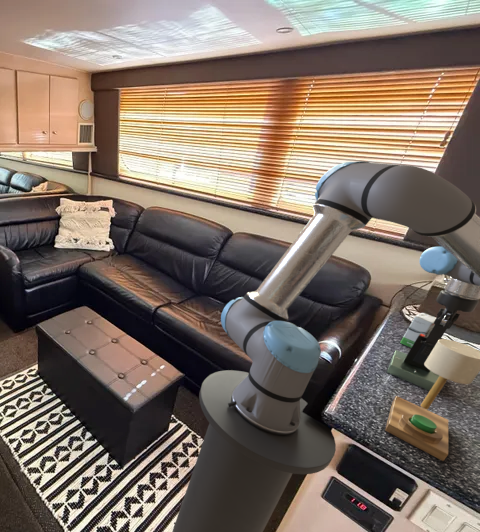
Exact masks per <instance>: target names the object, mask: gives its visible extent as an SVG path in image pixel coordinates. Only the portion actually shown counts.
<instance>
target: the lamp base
mask: <svg viewBox="0 0 480 532" xmlns="http://www.w3.org/2000/svg"><path fill="white" fill-rule="evenodd" d="M415 414H417V415H421V416H424V417H426V418H428V419H430V420H431V421H433V422H434V423H435V424H436V426H437V428H436V429H435V431H434V432H433V433H432V434H430V433H427V432H424V431H422V430H420V429H418V428H417V427H415V426H414V425H413V424H411V422H410V420H411V418H412V417H413V415H415ZM384 431H385V432H387V433H389V434H391V435H393V436H394V437H396V438H399V439H400V440H402V441H404V442H406V443H408V444H410V445H412V446H413V447H415V448H418V449H419V450H421V451H423V452H425V453H427V454H429V455H430V456H432V457H434V458H436V459H438V460H440V461H442V462H444V461H445V459H446V458H447V457H448V456H449V419H447V418H445V417H443V416H441V415H439V414H436V413H434V412H432V411H430V410H429V409H424V408H422V407H421V406H419V405H417V404H415V403H413V402H411V401H408V400H406V399H404V398H402V397H400V396H398V395H396V396H394V398H393V400H392V402H391V406H390V409H389V413H388V417H387V421H386V425H385V429H384Z"/></svg>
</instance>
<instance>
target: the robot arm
mask: <svg viewBox="0 0 480 532" xmlns="http://www.w3.org/2000/svg"><path fill="white" fill-rule="evenodd" d="M315 191H316V192H314V196H315V200H316V201H315V202H314V203H313V205H312V208H313V211H314V214H313V216H312V217H311V219H309V221H308V222H307V224H306V225H305V226H304V227H303V229H302V230H301V231H300V233H299V234H298V235H297V237H295V239H294V240H293V242H292V243H291V244H290V246H289V247H288V248H287V250H286V251H285V252H284V254H283V255H282V256H281V257H280V259H279V260H278V262H276V264H275V265H274V266H273V268H272V269H271V271H270V272H269V273H268V275H267V276H266V277H265V278H264V279H263V280H262V283H260V284H259V286H258V288H257V289H256V290H254V291H248V292H246V293H245V294H244V296H241V297H236V298H235V299H231V300H230V301H229V302H227V303H226V304H225V306H224V308H223V309H222V312H221V314H220V324H221V327H222V329H223V330H224V331H225V334H227V337H229V339H231V340H232V341H233V342H234V343H235V344H236V345H237V346H238V348H240V349H241V351H243V353H244V354H245V355H246V356H247V357H248V358H249V359H250V360H251V363H252V364H251V365H250V369H249V372H248V373H249V374H248V376H247V377H246V378H245V379H244V380H243V381H242V382H241V383H240V384H239V385H238V386H237V387H236V388H235V389H234V391H233V394H232V397H231V401H232V402H230V403H228V405H229V407H231V406H233V407H234V409H235V410H236V412H237V413H238V414H239V415H240V416H241V417H242V418H243V419H244V420H245V421H246V422H248V423H249V424H251V425H252V426H254V427H255V428H257V429H259V430H261V431H263V432H266V433H268V434H272V435H276V436H290V435H292V434H294V433H295V432H296V431H297V429H298V427H299V423H300V416H301V412H300V399H301V398H302V397H303V395H304V393H305V391H306V388H307V386H308V385H309V383H310V380H311V378H312V376H313V374H314V372H315V371H316V369H317V367H318V364H319V360H320V357H321V354H322V353H321V352H322V347H321V345H320V343H319V342H318V340H317V338H316V337H314V336H313V335H312V334H311V333H310V332H308V330H305V329H304V328H302V327H301V326H300V327H299V326H297V325H296V324H294V323H292V322H289V321H288V320H289V313H288V310H289V308H290V307H291V306H292V305H293V303H294V302H295V301H296V300H297V298H298V297H299V296H300V295H301V294H302V292H303V291H304V290H305V288H306V287H307V286H308V284H310V282H311V281H313V279H314V277H315V276H316V275H317V274H318V273H319V271H320V270H321V269H322V268H323V267H324V265H325V264H326V263H327V262H328V260H329V259H330V258H331V257H332V255H333V254H334V253H335V252H336V251H337V250H338V248H339V247H340V246H341V245H342V243H344V241H345V240H346V238H348V236H349V234H350V233H351V232H353V231H355V230H356V231H357V230H360V229H364V228H365V227H366V226H367V225H368V223H369V222H370V221H371V220H372V219H376V220H381V221H385V222H390V223H393V224H397V225H401V226H404V227H407V228H408V229H410V230H411V231H413V232H414V233H416V235H419V236H421V237H429V238H430V239H432V240H433V241H435V242H436V243H437V244H438V245H439V246H432V247H429V248H427V249H426V250H424V251H423V252H422V253H421V255H420V257H419V265H420V267H421V269H422V270H424V272H427V273H428V274H434V275H437V276H442V275H443V276H447V277H448V278H444V279H443V282H445V283H444V285H443V288H442V289H443V290H440V291H439V294H438V295H437V297H436V298H435V301H436V303H438V304H439V305H441V306H444V307H445V308H440V309H439V311H438V312H437V314H436V315H437V316H436V319H435V321H434V324H435V326H434V327H433V329H432V331H431V332H430V334H429V336H428V337H427V339H426V341H421V342H420V343H423V345H422V346H421V348H420V350H419V351H418V353H417V355H416V356H415V358H414V360H413V361H415V362H418V363H420V364H422V365H424V363H425V361H426V360H427V358H428V356H429V355H430V353H431V351H432V350H433V348H434V347H435V345H436V343H437V342H438V340H439V339H442V338H443V336H444V334H445V333H446V331H447V330H449V329H451V328H452V326H453V324H454V323H455V322H457V320H458V319H459V317H460V315H461V313H458V312H459V311H460V312H463V313H473V312H474V311H475V309H476V307H477V306H478V305H479V303H480V301H479V300H480V217H479V215H477V214H476V213H477V206H476V204H475V202H474V201H473V200H472V199H471V198H470V197H469V196H468V195H467V194H466V193H465V192H463V191H462V190H461V189H460V188H459V187H457V186H456V185H455V184H453V183H451V182H450V181H448V180H447V179H445V178H443V177H442V176H441V175H439V174H436V173H434V172H433V171H431V170H429V169H426V168H423V167H419V166H415V165H408V164H391V163H379V162H370V161H364V160H361V161H360V160H359V161H346V162H343V163H338V164H337V165H334V166H332V167H330V169H327V171H326V172H325V173H324V174H323V175H322V176H321V177H320V178H319V180H318V181H317V183H316V186H315Z"/></svg>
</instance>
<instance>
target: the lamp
mask: <svg viewBox="0 0 480 532" xmlns="http://www.w3.org/2000/svg"><path fill="white" fill-rule="evenodd" d="M424 365H425V366H426V367H427V368H428V369H429V370H430V371H432V372H433V373H435V374H437V375H439V378H438V379H437V381H436V382H435V384H434V385H433V387H432V388H431V390H430V391H429V390H428V393H427V394H426V396H425V397H424V398H423V400H422V402H421V403H420V407H421V408H424V409H426V410H429V408H430V407H431V405H432V404H433V402H434V401H435V400H436V398H437V396H438V395H439V393H440V392H441V390H442V389H443V388H444V386H445V384H446V383H447V381H451V382H454V383H456V384H461V385H471V384H472V383H473V382H474V380H475V379H476V377H477V376H478V374H479V373H480V350H479V349H477V348H475V347H472V346H470V345H468V344H465V343H462V342H459V341H455V340H452V339H448V338H441V339H439V340H438V342H437V343H436V345H435V347H434V348H433V350H432V351H431V353H430V355H429V356H428V358H427V360H426V361H425V363H424Z"/></svg>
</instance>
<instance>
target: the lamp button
mask: <svg viewBox="0 0 480 532" xmlns="http://www.w3.org/2000/svg"><path fill="white" fill-rule="evenodd" d="M410 422H411V424H413V425H414V426H415V427H417V428H418V429H420V430H422V431H424V432H427V433H430V434H432V433H433V432H434V431H435V429H436V428H437V426H436V424H435V423H434V422H433V421H431V420H430V419H428V418H426V417H424V416H421V415H417V414H415V415H413V417H412V418H411V420H410Z"/></svg>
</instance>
